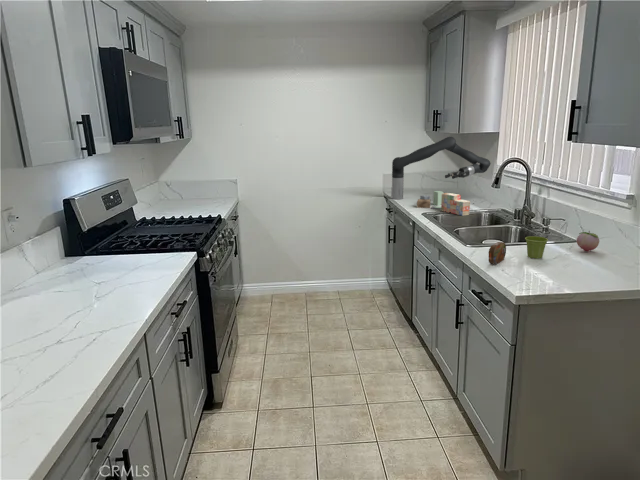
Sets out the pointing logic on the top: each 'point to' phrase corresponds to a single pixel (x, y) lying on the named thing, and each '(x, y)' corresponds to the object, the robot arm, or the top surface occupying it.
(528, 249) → the plant pot
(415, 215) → the top surface
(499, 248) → the tin
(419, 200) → the walnut plinth
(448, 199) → the stack of blocks
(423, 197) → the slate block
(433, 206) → the swatch card
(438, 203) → the sage block
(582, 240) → the decorative fruit
